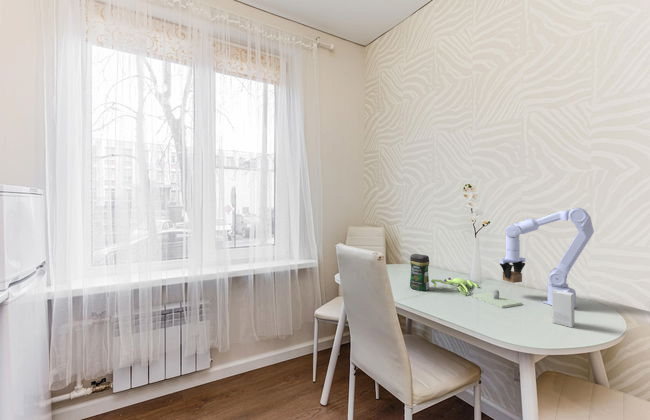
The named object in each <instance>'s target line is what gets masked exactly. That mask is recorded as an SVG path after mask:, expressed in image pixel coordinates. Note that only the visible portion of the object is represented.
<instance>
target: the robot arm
mask: <svg viewBox="0 0 650 420" xmlns="http://www.w3.org/2000/svg"><path fill="white" fill-rule="evenodd" d="M557 221H565V222H568V221H570V222H572V223H573V224H574V225H575V227H576V229H577V233H576V235H575V236H574V238H573V240H572V241H571V243H570V245H569V246H568V248H567V250H566V251H565V253H564V254H563V256H562V257H561V259H560V261H559V262H558V263H557V265H556V267H554V268H552V269H551V270H550V271H549V274H548V275H547V276H548V277H547V278H548V279H547V280H548V282H547V300H543V301H542V303H543V304H546V305H550V306H552V292H553V291H554V290H558V291H564V292H570V293H574V309H575V308H578V306H577V292H576V290H575V289H574V288H572V287H570V286H569V284H568V283H567V281H568V280H567V278H568V274H569V273H570V271H571V269H572V267H573V266H574V265H575V263H576V262H577V260H578V258H579V257H580V255H581V253H582V252H583V250H585V249H584V248H585V247H586V246H587V244H588V242H590V240H591V238H592V237H593V234H594V232H595V231H594V227H593V222H592V218H591V215H589V213H588V212H587V210H586V209H584V208H582V207H575V208H572V209H565V210H560V211H557V212H554V213H552V214H549V215H546V216H544V217H540V218H537V219H534V218H533V217H532V218H528V217H526V218H525V220H522V221H519V222H514V223H513V224H509V225H508V226H507V227H505V229H504V234H505V256H504V258H499V261H498V263H499V265H500V267H501V269H502V272H504V275H505V278H510V276H511V271H512V268H513V271H514V272H518V273H522V271H523V268H524V267H525V266H526V257H523V256H521V255H520V253H521V252H520V251H521V249H520V247H521V242H520V235H525V234H527V233H532V232H535V231H537V230H538V229H539V227H540V226H543V225H547V224H550V223H554V222H557Z"/></svg>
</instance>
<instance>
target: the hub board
mask: <svg viewBox="0 0 650 420" xmlns="http://www.w3.org/2000/svg"><path fill="white" fill-rule="evenodd" d="M472 297H473V298H474V299H477V300H480V301H482V302H484V303H488V304H491V305H492V306H496V307H498V308H501V309H505V308H511V307H517V306H518V307H519V306H523V302H522V301H519V300H516V299H513V298H510V297H507V296H503V295H501V294H500V291H499V290H498V289H495V290H493V292H492V291H491V292H490V291H489V292H483V293H476V294H472Z"/></svg>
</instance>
